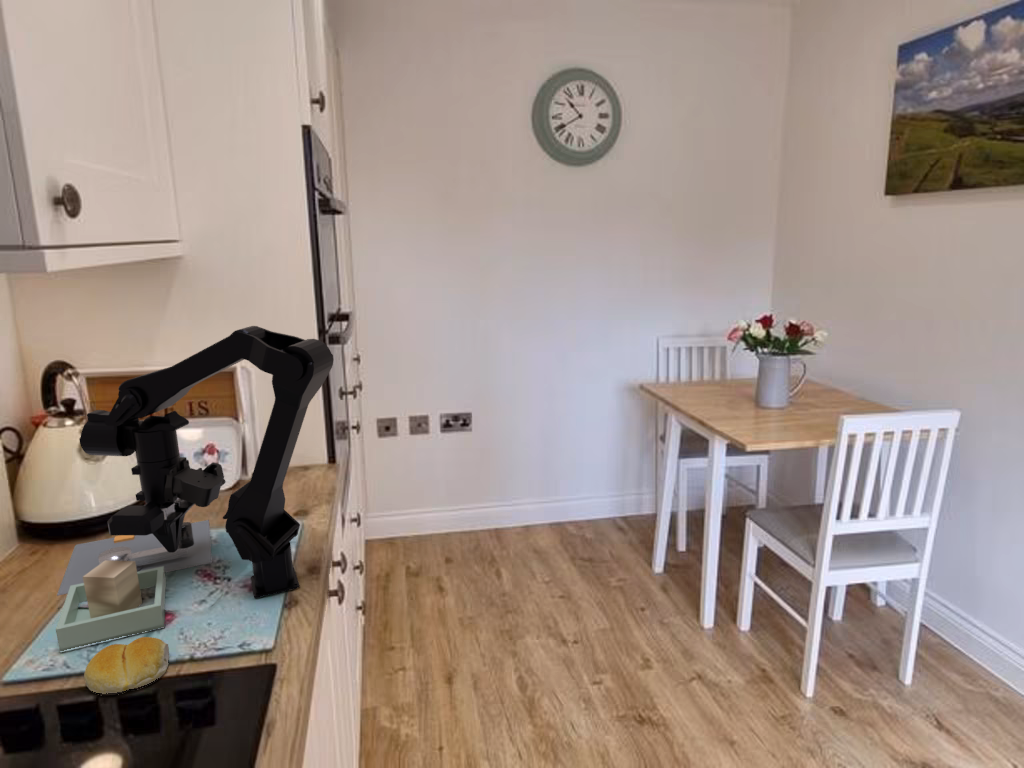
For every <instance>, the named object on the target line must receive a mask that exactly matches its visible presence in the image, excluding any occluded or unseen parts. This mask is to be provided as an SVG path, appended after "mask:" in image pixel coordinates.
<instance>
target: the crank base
mask: <svg viewBox="0 0 1024 768" xmlns="http://www.w3.org/2000/svg"><path fill="white" fill-rule="evenodd" d="M190 523H191V525H192V532H193V539H194V545H193V546H191V547H188V548H187V556H185V557H180V558H175V559H171V560H166V561H161V562H156V563H151V564H146V565H141V566H137V567H136V569H137V572H138V571H143V570H148V569H153V568H157V567H162V566H164V571H165V574H166V573H170V572H175V571H181V570H183V569H184V570H185V569H189V568H192V567H199V566H204V565H207V564H212V563H213V559H212V546H211V534H210V533H211V531H210V519H207V520H205V519H204V520H201V521H195V522H190ZM116 547H129V548H130V549H131V553H136V552H141V551H146V550H151V549H156V548H161V547H164V546H163V545H162V544H161V543H160V542H159V541H158V539H157V538H156V537H155V536H154V535H153V534H149V535H114V537H111V538H105V539H104V538H103V539H99V540H95V541H90V542H89V541H88V542H84V543H83V542H82V543H77V544H75V546H74V548H73V551H72V553H71V556H70V558H69V561H68V565H67V567H66V570H65V573H64V575H63V578H62V580H61V583H60V586H59V588H58V591H57V594H56V596H57V597H58V596H62V595H68V592H69V589H70V586H71V585H76V584H81V583H84V581H83V576H85V575H86V574H87V573H89V572H90V571H91V570H93V569H94V568H96V567H97V566H98V565H100V564H99V559H98V556H99V555H100V554H101V553H102V552H104V551H106V550H109V549H112V548H116Z"/></svg>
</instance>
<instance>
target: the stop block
mask: <svg viewBox="0 0 1024 768" xmlns="http://www.w3.org/2000/svg"><path fill="white" fill-rule="evenodd" d="M83 581H84V587H85V592H86V597H87V601H86V602H87V607H89V613H90V618H96V617H100V616H104V615H109V614H113V613H117V612H122V611H126V610H130V609H135V608H139V607H141V605H142V604H143V599H142V594H141V593H142V592H141V589H140V586H139V580H138V575H137V569H136V563H135V561H106V560H105V561H104V562H102V563H101V564H100V565H98V566H97V567H96V568H94V569H93V570H91V571H90V572H89V573H87V574H86V575H85V576H83Z"/></svg>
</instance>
